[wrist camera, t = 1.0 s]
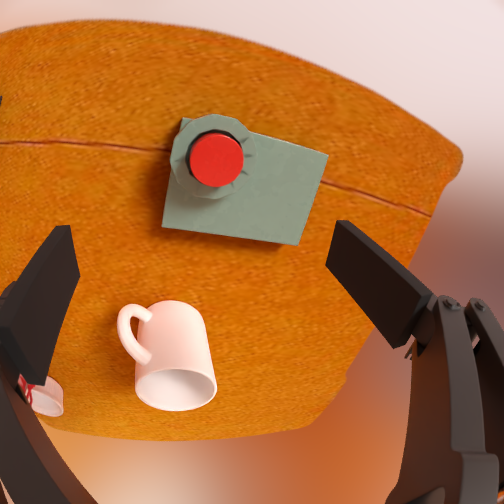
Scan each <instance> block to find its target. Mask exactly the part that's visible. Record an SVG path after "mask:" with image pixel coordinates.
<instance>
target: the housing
mask: <svg viewBox="0 0 504 504" xmlns="http://www.w3.org/2000/svg"><path fill="white" fill-rule="evenodd" d="M209 133H221V134H224V135H226V136H228V137H230V138H231V139H233V140H234V141H236V142H237V143H238V145H239V146H240V148H241V149H242V152H243V156H244V163H243V168H242V170H241V172H240V174H239V176H238V177H237V178H236V179H235V180H234V181H232V182H231V183H229V184H227V185H225V186H221V187H211V186H207V185H204V184H203V183H201V182H200V181H198V180H197V179H196V177H195V176H194V175H193V173H192V170H191V167H190V162H189V154H190V150H191V148H192V146H193V144H194V143H195V142H196V141H197V140H198V139H199V138H200V137H202V136H204V135H206V134H209ZM328 156H329V155H327V154H325V153H322V152H319V151H316V150H313V149H310V148H307V147H304V146H301V145H297V144H294V143H291V142H287V141H284V140H281V139H277V138H274V137H270V136H266V135H262V134H259V133H255V132H251V131H249V130H248V129H247V128H246V127H245V126H244V125H242V124H241V123H240V122H239V121H238V120H237V119H235V118H231V117H226V116H222V115H217V114H208V115H205V116H202V117H199V118H195V119H191V118H185V117H183V118H182V121H181V125H180V129H179V133H178V134H177V135H176V136H175V137H174V142H173V146H172V151H171V156H170V164H171V171H170V176H169V182H168V187H167V193H166V199H165V205H164V211H163V217H162V227H165V228H173V229H181V230H188V231H196V232H203V233H211V234H218V235H225V236H232V237H240V238H247V239H254V240H261V241H268V242H275V243H282V244H289V245H296V246H298V243H299V241H300V238H301V235H302V232H303V230H304V227H305V224H306V221H307V218H308V215H309V213H310V210H311V207H312V204H313V201H314V198H315V195H316V192H317V189H318V186H319V183H320V180H321V177H322V174H323V171H324V168H325V165H326V162H327V159H328Z"/></svg>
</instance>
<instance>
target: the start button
mask: <svg viewBox="0 0 504 504" xmlns="http://www.w3.org/2000/svg"><path fill="white" fill-rule="evenodd" d="M189 162H190V167H191V170H192V173H193V175H194V176H195V177H196V179H197V180H198V181H200V182H201V183H203V184H204V185H207V186H211V187H221V186H225V185H227V184H229V183H231V182H232V181H234V180H235V179H236V178H237V177H238V176H239V174H240V172H241V170H242V168H243V163H244V156H243V152H242V149H241V148H240V146H239V145H238V143H237V142H236V141H234V140H233V139H231V138H230V137H228V136H226V135H224V134H221V133H209V134H206V135H204V136H202V137H200V138H199V139H198V140H197V141H196V142H195V143H194V144H193V146H192V148H191V150H190V154H189Z"/></svg>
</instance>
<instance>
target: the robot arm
mask: <svg viewBox="0 0 504 504" xmlns="http://www.w3.org/2000/svg"><path fill="white" fill-rule="evenodd" d="M325 266H326V267H327V268H328V269H329V270H330V271H331V273H332V274H333V275H334V276H335V277H336V278H337V280H338V281H339V282H340V283H341V284H342V286H343V287H344V288H345V289H346V290H347V292H348V293H349V294H350V295H351V297H352V298H353V299H354V300H355V301H356V303H357V304H358V305H359V306H360V308H361V309H362V310H363V311H364V312H365V314H366V315H367V316H368V317H369V319H370V320H371V321H372V322H373V324H374V325H375V326H376V327H377V329H378V330H379V331H380V333H381V334H382V335H383V336H384V338H385V339H386V340H387V341H388V343H389V344H390V345H391V347H392V348H393V349H394V348H397V347H400V346H403V345H405V344H406V343H407V341H408V339H409V338H410V336H411V334H412V335H413V336H414V337H415V338H416V339H415V340H414V342H413V344H412V345H411V347H410V348H409V350H408V352H407V353H406V355H405V358H407V357H408V356H409V354H412V356H411V358H410V360H412V376H411V377H412V378H411V394H410V407H409V417H408V427H407V434H406V441H405V448H404V453H403V459H402V464H401V470H400V474H399V479H398V482H397V484H396V486H395V487H394V489H393V490H392V491H391V493H390V494H389V496H388V498H387V499H386V502H385V504H504V331H503V329H502V328H501V326H500V324H499V323H498V321H497V319H496V318H495V316H494V315H493V313H492V311H491V310H490V308H489V307H488V306H487V304H485V303H484V301H483V300H481V299H477V298H471V299H470V300H469V302H468V304H467V306H466V307H461V305H460V304H459V303H458V302H457V301H456V300H454V299H453V298H451V297H449V296H445V295H442V296H439V297H437V296H436V295H434V293H432V292H431V291H430V290H429V289H428V288H427V287H426V286H425V285H424V284H423V283H422V282H420V281H419V280H418V279H417V278H416V277H415V276H414V275H413V274H412V273H410V271H408V270H407V269H406V268H405V267H404V266H403V265H402V264H400V263H399V262H398V261H397V260H396V259H395V258H393V257H392V256H391V255H390V254H389V253H388V252H386V251H385V250H384V249H383V248H382V247H380V246H379V245H378V244H377V243H376V242H374V241H373V240H372V239H371V238H370V237H368V236H367V235H366V234H365V233H363V232H362V231H361V230H360V229H358V228H357V227H356V226H355V225H353V224H352V223H351V222H349V221H347V220H337V221H336V225H335V229H334V233H333V237H332V241H331V245H330V249H329V253H328V257H327V261H326V264H325ZM79 278H80V272H79V268H78V264H77V259H76V255H75V250H74V245H73V240H72V234H71V228H70V225H62V226H56V227H55V228H54V229H53V230H52V232H51V233H50V234H49V236H48V237H47V238H46V240H45V241H44V242H43V244H42V245H41V246H40V248H39V249H38V250H37V252H36V253H35V254H34V256H33V257H32V259H31V260H30V262H29V263H28V265H27V266H26V267H25V269H24V270H23V272H22V273H21V275H20V277H19V278H18V280H17V281H13V282H12V283H11V284H10V285H9V286H8V287H7V288H5V290H4V291H3V293H2V294H1V296H0V479H1V481H2V482H3V484H4V486H5V488H6V490H7V492H8V494H9V495H10V497H11V499H12V500H13V502H14V504H98V503H97V502H96V501H95V500H94V498H93V497H92V496H91V495H90V494H89V493H88V492H87V490H86V489H85V488H84V487H83V485H81V483H80V482H79V480H78V479H77V478H76V477H75V475H74V474H73V473H72V471H71V470H70V469H69V467H68V466H67V465H66V463H65V462H64V460H63V459H62V457H61V456H60V455H59V453H58V452H57V450H56V448H55V447H54V445H53V444H52V442H51V441H50V439H49V437H48V436H47V434H46V432H45V431H44V429H43V427H42V426H41V424H40V422H39V421H38V418H37V417H36V415H35V413H34V411H33V409H32V407H31V405H30V403H29V401H28V399H27V397H26V395H25V393H24V391H23V389H22V387H21V386H20V384H19V383H18V380H19V376H20V374H21V375H22V377H23V378H24V379H25V381H26V382H27V384H31V385H38V386H45V383H46V378H47V374H48V370H49V366H50V363H51V359H52V355H53V352H54V348H55V345H56V342H57V339H58V335H59V332H60V329H61V326H62V323H63V320H64V317H65V314H66V312H67V309H68V306H69V303H70V301H71V298H72V295H73V293H74V290H75V288H76V285H77V283H78V280H79ZM477 335H478V337H479V339H480V340H479V342H478V343H477V345H476V346H475V348H474V349H473V348H472V342H473V341H474V339H475V338H476V336H477ZM0 504H8V502H7V499H6V497H5V494H4V491H3V488H2V485H1V482H0Z"/></svg>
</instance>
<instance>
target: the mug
mask: <svg viewBox="0 0 504 504" xmlns="http://www.w3.org/2000/svg"><path fill="white" fill-rule="evenodd" d="M132 316H134V317H137V318H138V319H140V320H139V325H138V335H137V341H136V339H135V338H134V336H133V334H132V331H131V328H130V318H131V317H132ZM117 330H118V335H119V338H120V340H121V342H122V344H123V346H124V348H125V349H126V351H127V352H128V353H129V354H130V355H131V356H132V358H134V359H135V360H136V370H135V391H136V394H137V396H138V397H139V398H140V399H141V400H142V401H143V402H144V403H146V404H148V405H150V406H152V407H154V408H157V409H161V410H168V411H185V410H191V409H195V408H198V407H200V406H203V405H204V404H206V403H208V402H209V401H210V400H211V399H212V398H213V397H214V396H215V394H216V391H217V385H216V380H215V375H214V370H213V365H212V361H211V356H210V350H209V345H208V340H207V335H206V329H205V325H204V321H203V319H202V317H201V315H200V313H199V312H198V311H197V310H196V309H195V308H193V307H192V306H190V305H188V304H186V303H183V302H180V301H173V300H168V301H161V302H158V303H155V304H153V305H151V306H150V307H148V308H147V309H146V308H144V307H142V306H140V305H137V304H128V305H126V306H124V307H123V308H122V309H121V310H120V312H119V314H118V318H117Z"/></svg>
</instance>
